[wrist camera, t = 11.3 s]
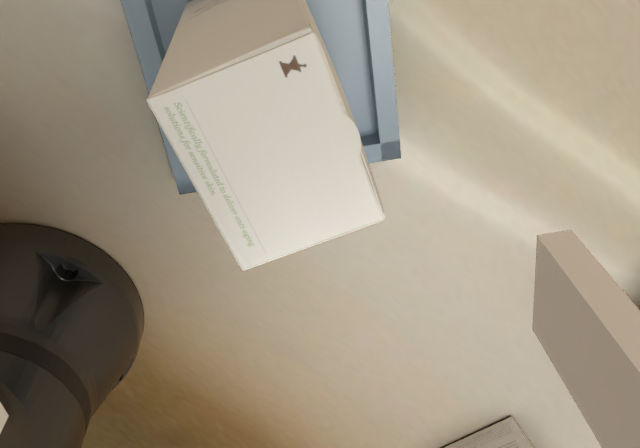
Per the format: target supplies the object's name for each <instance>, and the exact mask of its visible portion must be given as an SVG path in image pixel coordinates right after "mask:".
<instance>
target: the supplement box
mask: <svg viewBox="0 0 640 448" xmlns="http://www.w3.org/2000/svg"><path fill="white" fill-rule="evenodd" d="M444 448H534V447H533V446H532V444H531V443H530V442H529V440H528V439H527V437H526V436H525V434H524V433H523V432H522V430H521V429H520V427H519V426H518V424H517V423H516V421H515V420H514V419H513V418H512V417H509V418H507V419H505V420H503V421H501V422H498V423H496V424H494V425H492V426H490V427H488V428H485V429H483V430H481V431H479V432H477V433H475V434H472V435H470V436H468V437H466V438H464V439H462V440H459V441H457V442H455V443H453V444H451V445H449V446H446V447H444Z"/></svg>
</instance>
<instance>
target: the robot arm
mask: <svg viewBox="0 0 640 448" xmlns="http://www.w3.org/2000/svg"><path fill="white" fill-rule="evenodd" d="M143 328H144V313H143V307H142V303H141V300H140V297H139V294H138V292H137V290H136V288H135V286H134V284H133V283H132V281H131V280H130V278H129V277H128V275H127V274H126V273H125V272H124V270H123V269H122V268H121V267H120V266H119V265H118V264H117V263H116V262H115V261H114V260H113V259H111V258H110V257H109V256H108V255H107V254H105V253H104V252H103V251H101V250H100V249H98V248H97V247H95V246H93V245H92V244H90V243H88V242H86V241H84V240H82V239H80V238H78V237H76V236H73V235H71V234H68V233H65V232H62V231H59V230H56V229H52V228H48V227H43V226H37V225H29V224H2V225H0V448H81V446H82V443H83V439H84V436H85V433H86V430H87V427H88V424H89V421H90V418H91V417H92V416H93V414H94V413H95V412H96V410H97V409H98V408H99V406H100V405H101V404H102V402H103V401H104V400H105V398H106V397H107V396H108V394H109V393H110V392H111V390H113V389H114V388H115V387H116V386H117V385H118V384H119V383H120V382H121V380H122V379H123V378H124V377H125V376H126V374H127V373H128V371H129V370H130V368H131V366H132V364H133V362H134V360H135V358H136V355H137V352H138V348H139V344H140V341H141V337H142V333H143ZM532 329H533V331H534V332H535V334H536V336H537V338H538V339H539V341H540V343H541V344H542V346H543V348H544V350H545V351H546V353H547V355H548V356H549V358H550V360H551V361H552V363H553V365H554V367H555V368H556V370H557V372H558V373H559V375H560V377H561V379H562V380H563V382H564V384H565V385H566V387H567V389H568V390H569V392H570V394H571V396H572V397H573V399H574V401H575V402H576V404H577V406H578V408H579V409H580V411H581V413H582V414H583V416H584V418H585V420H586V421H587V423H588V425H589V426H590V428H591V430H592V431H593V433H594V435H595V437H596V438H597V440H598V442H599V443H600V445H601V447H602V448H640V310H639V309H638V308H637V306H636V305H635V304H634V303H633V302H632V301H631V299H630V298H629V297H628V296H627V295H626V294H625V292H624V291H623V290H622V289H621V288H620V287H619V285H618V284H617V283H616V282H615V281H614V280H613V278H612V277H611V276H610V275H609V274H608V272H607V271H606V270H605V269H604V268H603V267H602V265H601V264H600V263H599V262H598V261H597V260H596V258H595V257H594V256H593V255H592V254H591V253H590V251H589V250H588V249H587V248H586V247H585V246H584V244H583V243H582V242H581V241H580V240H579V239H578V237H577V236H576V235H575V234H574V233H573V231H572V230H567V231H561V232H555V233H549V234H543V235H537V249H536V269H535V289H534V308H533V328H532Z"/></svg>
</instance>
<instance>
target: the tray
mask: <svg viewBox="0 0 640 448" xmlns="http://www.w3.org/2000/svg"><path fill="white" fill-rule="evenodd" d="M190 1H192V0H121V3H122V6H123V9H124V12H125V16H126V19H127V22H128V26H129V29H130V32H131V36H132V39H133V42H134V46H135V49H136V52H137V56H138V59H139V62H140V65H141V69H142V72H143V75H144V79H145V82H146V85H147V89H148V92H149V94H150V91H151V89H152V86H153V84H154V83H155V79H156V77H157V75H158V72H159V69H160V67H161V64H162V62H163V60H164V58H165V55H166V52H167V50H168V48H169V45H170V43H171V40H172V38H173V35H174V33H175V30H176V28H177V26H178V23H179V21H180V18H181V15H182V13H183V11H184V8H185V6H186V4H187V3H188V2H190ZM306 2H307V5H308V7H309V9H310V11H311V13H312V16H313V18H314V20H315V23H316V25H317V27H318V30H319V32H320V35H321V37H322V39H323V42H324V44H325V46H326V49H327V51H328V54H329V56H330V59H331V61H332V63H333V66H334V68H335V71H336V73H337V76H338V78H339V80H340V83H341V86H342V88H343V91H344V93H345V96H346V98H347V101H348V104H349V107H350V110H351V113H352V116H353V119H354V121H355V124H356V127H357V129H358V131H359V134H360V138H361V142H362V145H363V148H364V151H365V154H366V157H367V160H368V163H374V162H380V161H386V160H392V159H398V158H401V151H400V139H399V127H398V115H397V103H396V90H395V78H394V66H393V54H392V42H391V29H390V17H389V5H388V0H306ZM157 122H158V121H157ZM158 125H159V128H160V132H161V135H162V138H163V142H164V145H165V148H166V152H167V155H168V158H169V161H170V165H171V168H172V171H173V175H174V178H175V181H176V185H177V188H178V191H179V195H180V194H186V193H192V192H197V191H196V189H195V187H194V186H193V184H192V182H191V180H190V178H189V177H188V175H187V173H186V171H185V169H184V168H183V166H182V164H181V162H180V161H179V159H178V157H177V155H176V153H175V152H174V150H173V148H172V146H171V144H170V143H169V141H168V139H167V137H166V135H165V134H164V132H163V130H162V128H161V126H160V124H159V123H158Z"/></svg>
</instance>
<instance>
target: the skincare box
mask: <svg viewBox="0 0 640 448" xmlns="http://www.w3.org/2000/svg"><path fill="white" fill-rule="evenodd" d="M146 101H147V103H148V105H149V107H150V109H151V110H152V112H153V114H154V115H155V117H156V119H157V121H158V123H159V124H160V126H161V128H162V130H163V132H164V134H165V135H166V137H167V139H168V141H169V143H170V144H171V146H172V148H173V150H174V152H175V153H176V155H177V157H178V159H179V161H180V162H181V164H182V166H183V168H184V169H185V171H186V173H187V175H188V177H189V178H190V180H191V182H192V184H193V186H194V187H195V189H196V191H197V193H198V195H199V196H200V198H201V200H202V202H203V204H204V205H205V207H206V209H207V211H208V213H209V214H210V216H211V218H212V220H213V221H214V223H215V225H216V227H217V228H218V230H219V232H220V234H221V235H222V237H223V239H224V240H225V242H226V244H227V246H228V247H229V249H230V251H231V253H232V254H233V256H234V258H235V259H236V261H237V263H238V264H239V266H240V268H241V269H242V270H243V271H245V270H248V269H250V268H253V267H256V266H259V265H261V264H264V263H267V262H270V261H272V260H275V259H278V258H281V257H284V256H286V255H289V254H292V253H295V252H298V251H300V250H303V249H306V248H309V247H312V246H314V245H317V244H320V243H323V242H326V241H328V240H331V239H334V238H337V237H339V236H342V235H345V234H348V233H350V232H353V231H356V230H359V229H361V228H364V227H367V226H370V225H372V224H375V223H378V222H381V221H383V220H385V213H384V210H383V206H382V203H381V199H380V196H379V193H378V190H377V187H376V184H375V180H374V177H373V174H372V171H371V168H370V165H369V163H368V160H367V157H366V154H365V151H364V148H363V145H362V142H361V138H360V134H359V131H358V129H357V127H356V124H355V121H354V119H353V116H352V113H351V110H350V107H349V104H348V101H347V98H346V96H345V93H344V91H343V88H342V86H341V83H340V80H339V78H338V76H337V73H336V71H335V68H334V66H333V63H332V61H331V59H330V56H329V54H328V51H327V49H326V46H325V44H324V42H323V39H322V37H321V35H320V32H319V30H318V27H317V25H316V23H315V20H314V18H313V16H312V13H311V11H310V9H309V7H308V5H307V2H306V0H192V1H190V2H188V3H187V4H186V6H185V8H184V11H183V13H182V15H181V18H180V21H179V23H178V26H177V28H176V30H175V33H174V35H173V38H172V40H171V43H170V45H169V48H168V50H167V52H166V55H165V58H164V60H163V62H162V64H161V67H160V69H159V72H158V75H157V77H156V79H155V83H154V84H153V86H152V89H151V91H150V94H149V96H148V98H147V100H146Z"/></svg>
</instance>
